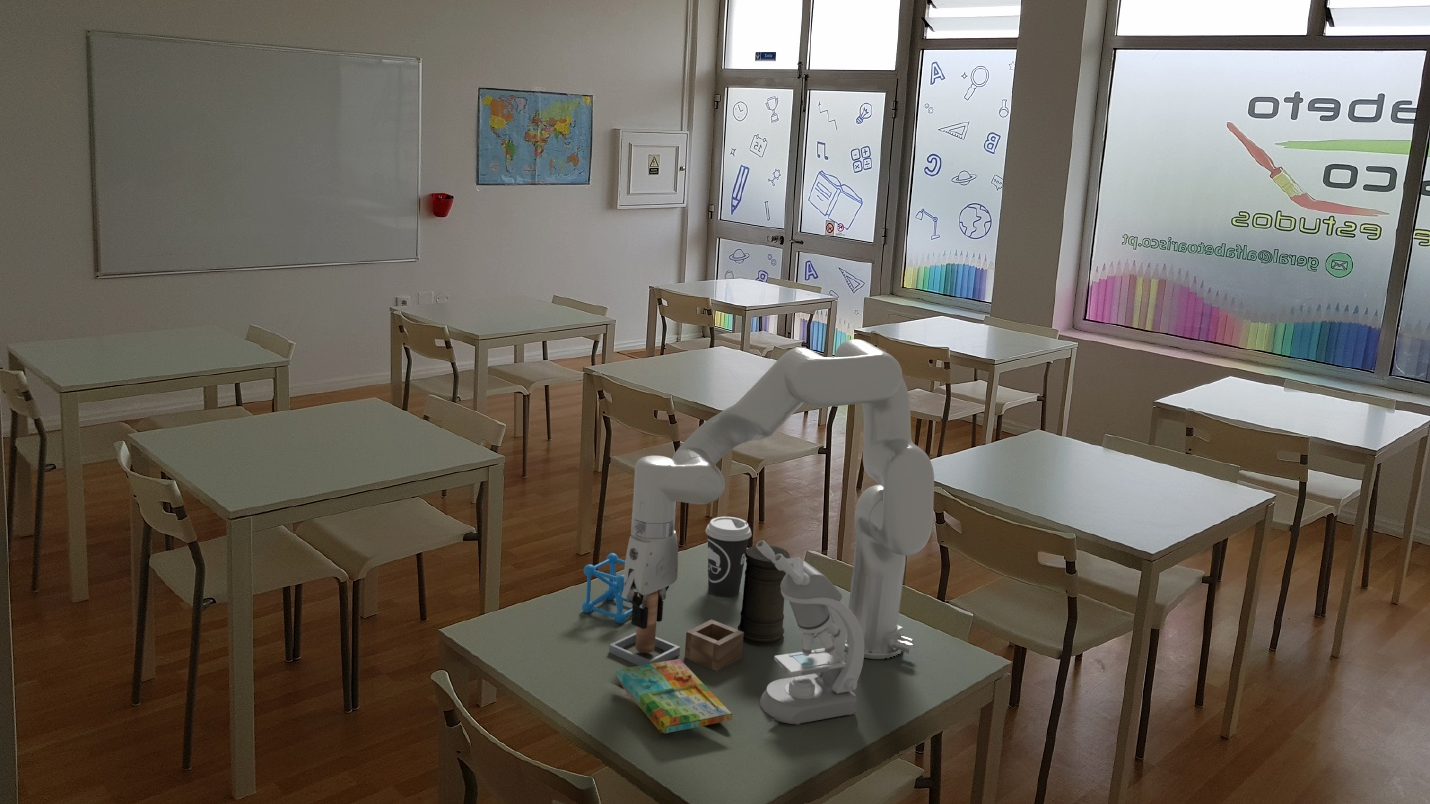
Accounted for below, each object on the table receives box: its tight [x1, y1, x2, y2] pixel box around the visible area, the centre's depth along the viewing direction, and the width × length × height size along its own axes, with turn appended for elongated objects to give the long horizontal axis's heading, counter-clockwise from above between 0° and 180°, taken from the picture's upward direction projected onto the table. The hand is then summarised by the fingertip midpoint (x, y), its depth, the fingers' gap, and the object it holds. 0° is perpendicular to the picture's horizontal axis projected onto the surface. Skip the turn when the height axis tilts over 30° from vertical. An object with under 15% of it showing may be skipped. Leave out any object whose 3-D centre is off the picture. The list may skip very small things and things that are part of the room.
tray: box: [608, 632, 681, 666], centre depth 204 cm, size 10×8×2 cm
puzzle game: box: [615, 658, 733, 734], centre depth 187 cm, size 12×5×20 cm
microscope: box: [755, 539, 865, 726], centre depth 187 cm, size 11×19×30 cm, turn 116°
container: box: [737, 544, 791, 648], centre depth 213 cm, size 9×9×18 cm
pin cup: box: [684, 619, 744, 672], centre depth 204 cm, size 7×7×6 cm
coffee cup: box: [705, 516, 752, 598], centre depth 235 cm, size 10×10×15 cm
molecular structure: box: [581, 552, 632, 624], centre depth 222 cm, size 10×10×10 cm
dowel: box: [634, 591, 658, 654], centre depth 202 cm, size 4×4×11 cm
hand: (646, 621), depth 202 cm, fingers closed on dowel, 3 cm apart
